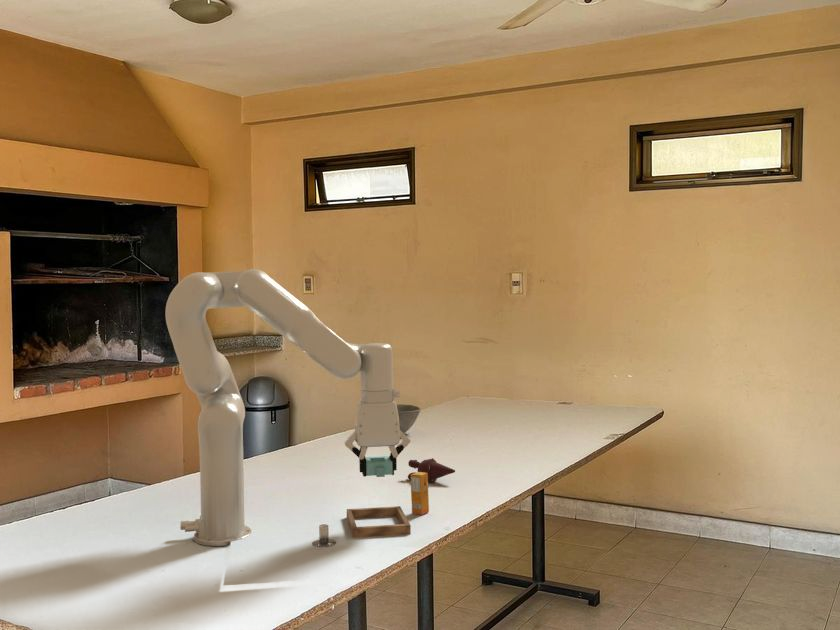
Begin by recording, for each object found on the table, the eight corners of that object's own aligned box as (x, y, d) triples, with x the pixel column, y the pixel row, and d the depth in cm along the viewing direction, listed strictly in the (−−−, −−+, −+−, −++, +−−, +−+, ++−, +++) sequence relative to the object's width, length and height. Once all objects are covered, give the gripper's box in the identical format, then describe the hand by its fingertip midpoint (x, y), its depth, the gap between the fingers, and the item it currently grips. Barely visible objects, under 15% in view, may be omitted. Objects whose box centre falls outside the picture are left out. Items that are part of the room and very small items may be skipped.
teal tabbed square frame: (363, 467, 189) (363, 455, 189) (387, 466, 190) (387, 454, 190) (368, 477, 180) (367, 465, 180) (393, 476, 181) (393, 463, 181)
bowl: (420, 439, 288) (420, 411, 288) (368, 439, 288) (368, 411, 288) (421, 429, 307) (421, 403, 306) (372, 429, 307) (372, 403, 307)
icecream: (460, 459, 229) (414, 458, 236) (449, 457, 223) (402, 457, 230) (460, 483, 228) (413, 482, 235) (449, 483, 221) (401, 481, 228)
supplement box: (417, 510, 201) (417, 470, 201) (429, 512, 199) (429, 472, 199) (410, 513, 198) (410, 473, 198) (421, 515, 196) (421, 475, 196)
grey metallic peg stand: (312, 552, 171) (312, 530, 170) (311, 544, 176) (311, 522, 175) (336, 550, 171) (336, 528, 171) (335, 542, 177) (334, 521, 176)
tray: (352, 541, 177) (352, 528, 177) (346, 521, 192) (346, 509, 192) (410, 538, 180) (410, 525, 179) (400, 518, 194) (400, 506, 194)
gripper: (411, 393, 189) (412, 468, 190) (338, 396, 186) (339, 472, 187) (416, 397, 182) (417, 476, 183) (341, 400, 179) (342, 480, 180)
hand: (378, 473), depth 185 cm, fingers closed on teal tabbed square frame, 5 cm apart
